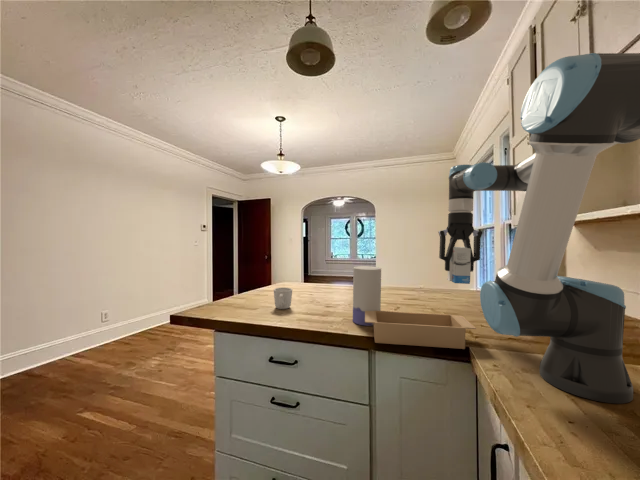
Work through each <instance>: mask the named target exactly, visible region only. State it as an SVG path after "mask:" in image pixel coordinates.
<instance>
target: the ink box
mask: <svg viewBox="0 0 640 480" xmlns="http://www.w3.org/2000/svg"><path fill="white" fill-rule="evenodd" d="M471 249H472V248H471ZM471 249H470V248H465V246H455V247H453V253H452V256H451V260H450V261H451V262H453V266H452V281H451V282H452V283H454V284H460V285H461V284H464V285H465V284H466V285H469V284H470V283H471V272H470V255H471Z"/></svg>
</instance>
